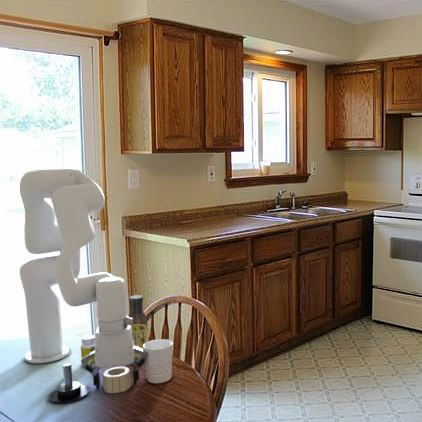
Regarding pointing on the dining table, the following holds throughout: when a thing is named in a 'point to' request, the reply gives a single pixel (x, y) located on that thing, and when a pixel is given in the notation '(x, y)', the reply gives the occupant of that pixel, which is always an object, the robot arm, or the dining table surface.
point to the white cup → (158, 360)
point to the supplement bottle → (88, 347)
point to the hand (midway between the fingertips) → (116, 385)
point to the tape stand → (68, 389)
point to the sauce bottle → (138, 323)
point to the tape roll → (116, 379)
